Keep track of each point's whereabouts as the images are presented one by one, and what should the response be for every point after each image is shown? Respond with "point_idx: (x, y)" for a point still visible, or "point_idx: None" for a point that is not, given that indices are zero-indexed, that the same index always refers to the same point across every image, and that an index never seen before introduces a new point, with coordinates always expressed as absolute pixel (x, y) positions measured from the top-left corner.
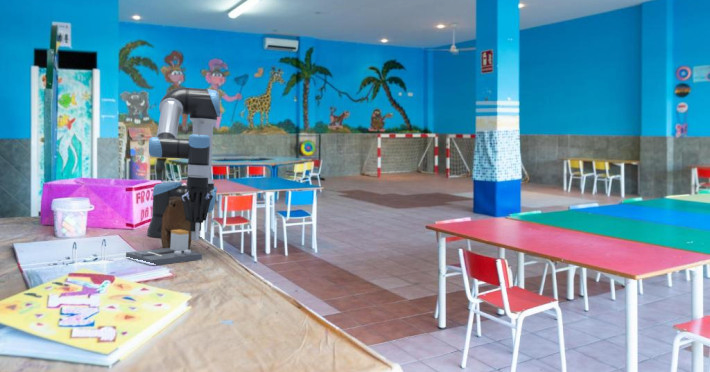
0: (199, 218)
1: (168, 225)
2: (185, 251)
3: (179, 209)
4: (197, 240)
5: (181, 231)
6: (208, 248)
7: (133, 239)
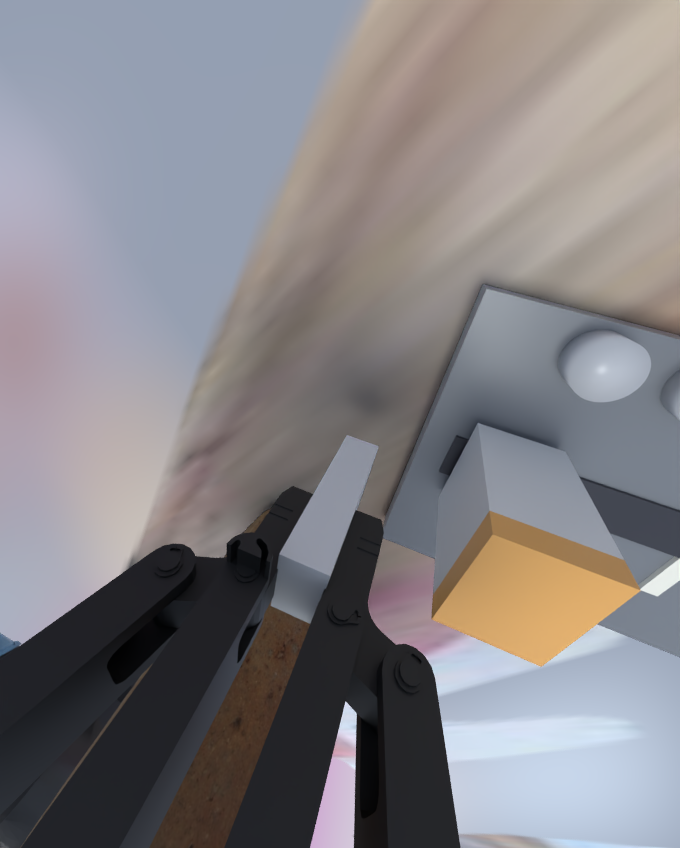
0: (248, 618)
1: None
2: (646, 369)
3: (202, 820)
4: (360, 440)
5: (574, 583)
6: (205, 445)
7: None
